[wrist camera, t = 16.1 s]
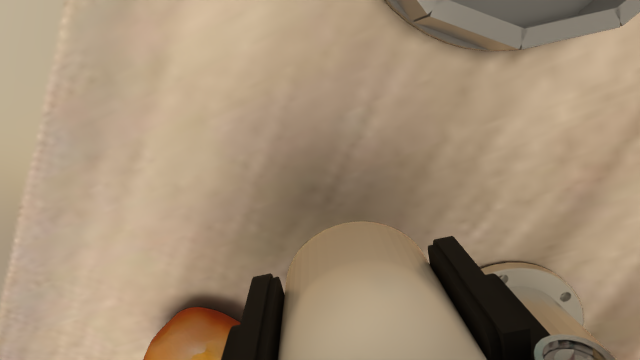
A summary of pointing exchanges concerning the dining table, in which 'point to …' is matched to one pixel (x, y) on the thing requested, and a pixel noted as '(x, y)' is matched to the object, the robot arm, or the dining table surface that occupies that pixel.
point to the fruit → (192, 336)
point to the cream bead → (369, 301)
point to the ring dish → (512, 20)
